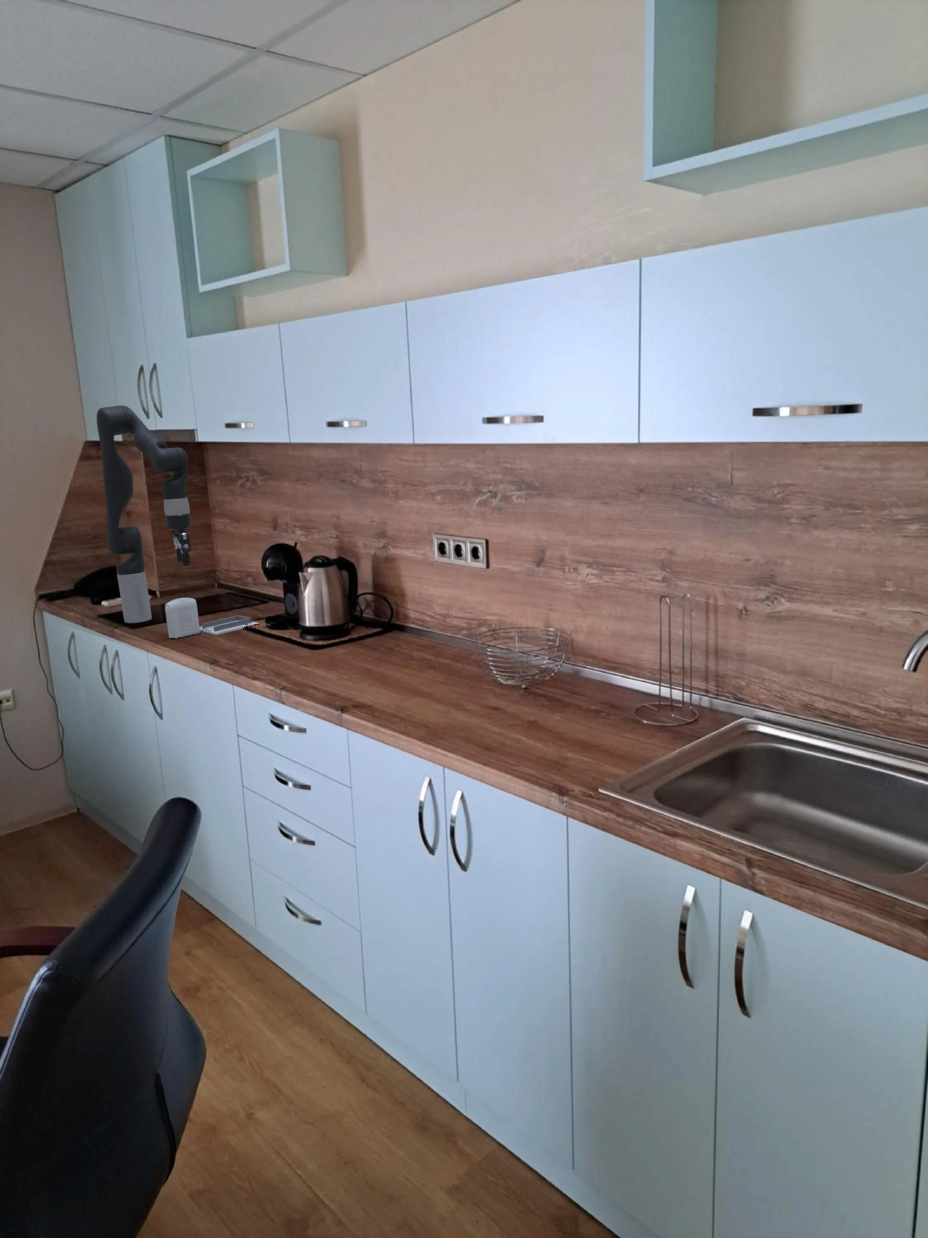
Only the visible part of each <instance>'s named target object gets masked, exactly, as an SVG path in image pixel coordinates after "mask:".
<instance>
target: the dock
mask: <svg viewBox="0 0 928 1238" xmlns="http://www.w3.org/2000/svg"><path fill="white" fill-rule="evenodd" d="M245 624H248V625H245ZM254 624H259V622H254V621H253V618H251V617H249V616H243V615H233V616H229V617H224V618H220V619H217V620H211V621H207V622H203V623H201V626H199V627H200V632H201V631H203V632H202V633H205V632H206V633H205V634H209V635H213V636H219V635H222V634H227V633H231V632H235V631H239V630H243V628H244V627H246V626H250V625H254ZM259 625H260V624H259ZM244 629H245V628H244Z"/></svg>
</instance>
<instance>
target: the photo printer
mask: <svg viewBox="0 0 928 1238" xmlns="http://www.w3.org/2000/svg"><path fill="white" fill-rule="evenodd" d="M197 604H198V603H197V601H196V599H194V598H191V597H179V598H175V599H172V600H170V601H168V602H167V603H165V605H164V610H165V612H164V613H165V617H166V625H167V632H168V634H167V635H168V637H169V639H170V638H175V639H179V637H180V638H183V637H189V636H193V634H194V635H197V634H198V633H199V634H200V633H201V631H200V627H201V626H200V620H199V619H200V618H199V613H198V612H199V611H198V605H197ZM199 634H198V635H199Z"/></svg>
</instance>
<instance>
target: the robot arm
mask: <svg viewBox="0 0 928 1238" xmlns="http://www.w3.org/2000/svg"><path fill="white" fill-rule="evenodd" d="M96 427H97V432H98V437H99V438H98V439H99V444H100V451H101V452H100V453H101V459H102V460H101V461H102V474H103V476H102V477H103V488H104V489H103V491H104V497H105V507H106V509H105V510H106V541H107V542H106V543H107V547H108V548H107V549H108V550H109V553H110V554H111V555H112V556H113V555H114V556H119V555H127V554H130V556H129V557H128V559H126V560H124V562H122V563H120V564H118V565H117V566H116V576H117V582H118V588H119V593H120V594H119V595H120V602H121V607H122V614H123V620H124V623H127V624H136V623H143V622H147V621H150V620H152V619H153V617H152V610H151V603H150V596H149V589H148V583H147V577H146V570H145V561H144V559H145V558H144V553H143V552H144V550H143V539H142V534H141V532H140V529H139V527H137V526H136V525H131V526H129V525H128V526H122V527H120V520H121V518H122V515H123V513H124V511H125V509H126V507H127V506H128V504H129V502H130V501H131V498H132V497H133V495H134V477H133V472H132V469H131V468H130V466H129V465H128V464H127V462H126V461H125V459H123V457H122V456H121V455H120V454H119V452H118V450H117V446H116V444H115V443H116V442H115V436H121V435H127V434H131V435H133V442H134V444H135V447H136V448H137V450H138V451H140V453H142V454H144V456H146V457H147V458H148V459H149V461H150V463H151V464H152V466H153V468H154V469H155V470H157V471H159V472H160V473H161V472H162V473H166V472H173V473H172V476H171V477H170V478H168V479H165V480H163V481H162V484H161V488H162V497H163V510H164V517H165V524H166V528H167V529H169V530H171V534H172V541H173V543H172V545H173V549H175V552H176V558H177V559H176V561H177V562H178V563H182V565H183V566H190V565H191V557H190V553H191V551H192V549H191V543H190V542H191V541H190V538H189V537H190V536H189V535H190V534H189V532H186V529H188V528H190V527H192V520H191V512H190V511H191V509H190V503H189V500H188V493H187V486H186V484H187V483H186V481H187V475H188V468H189V456H188V454H187V452H186V451H185V449H183V448H181V447H170V448H169V447H168V444H167V443H166V441H164V440H163V439H161V438H160V437H159V436H157V435H156V434H155V433H154V432H153V431H151V430H150V429H149V428H148V427H147V425H145V423H144V422H143V421H142V420H141V419H140V418H139V417H138V415H137V414H136V412H134V410H132V408H130V407H128V406H126V405H114V406H106V407H100V408H99V409H98V410H97V413H96Z"/></svg>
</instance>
